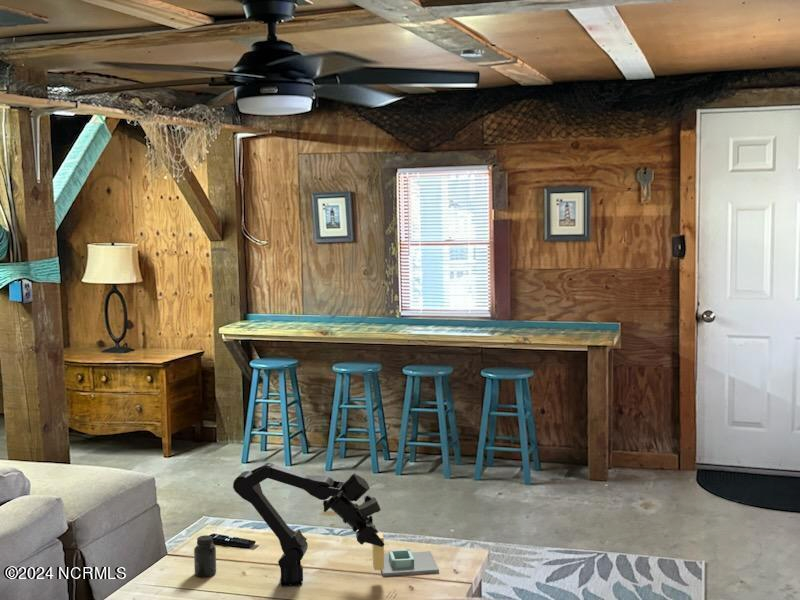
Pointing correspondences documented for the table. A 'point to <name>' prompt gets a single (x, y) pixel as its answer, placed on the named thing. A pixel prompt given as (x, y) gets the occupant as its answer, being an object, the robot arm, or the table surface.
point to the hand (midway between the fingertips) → (382, 542)
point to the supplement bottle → (205, 557)
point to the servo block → (378, 555)
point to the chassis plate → (408, 563)
